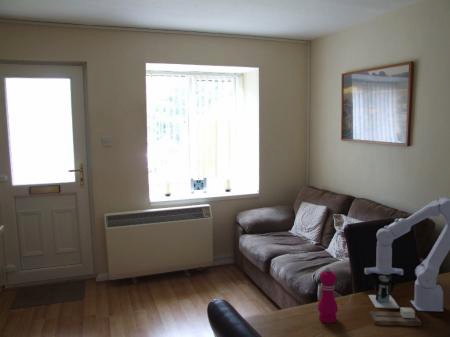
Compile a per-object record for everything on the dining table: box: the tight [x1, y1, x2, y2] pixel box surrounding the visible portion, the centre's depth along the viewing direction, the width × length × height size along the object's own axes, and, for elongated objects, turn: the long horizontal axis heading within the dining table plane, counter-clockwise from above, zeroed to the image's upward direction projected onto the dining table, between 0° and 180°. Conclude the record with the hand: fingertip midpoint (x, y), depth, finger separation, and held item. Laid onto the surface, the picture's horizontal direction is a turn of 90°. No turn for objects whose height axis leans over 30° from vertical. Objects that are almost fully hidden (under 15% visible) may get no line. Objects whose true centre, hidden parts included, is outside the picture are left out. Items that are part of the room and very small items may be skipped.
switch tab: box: [399, 306, 416, 318], centre depth 138 cm, size 4×3×2 cm
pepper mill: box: [317, 266, 339, 324], centre depth 140 cm, size 7×7×20 cm
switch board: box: [368, 310, 422, 327], centre depth 139 cm, size 16×7×2 cm, turn 84°
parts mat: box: [367, 294, 400, 309], centre depth 153 cm, size 9×11×1 cm
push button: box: [375, 275, 392, 303], centre depth 153 cm, size 7×5×10 cm
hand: (383, 291), depth 153 cm, fingers closed on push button, 5 cm apart
